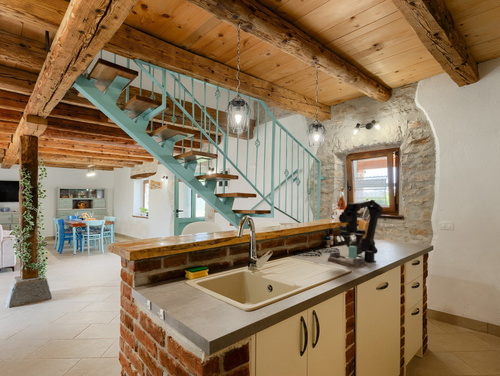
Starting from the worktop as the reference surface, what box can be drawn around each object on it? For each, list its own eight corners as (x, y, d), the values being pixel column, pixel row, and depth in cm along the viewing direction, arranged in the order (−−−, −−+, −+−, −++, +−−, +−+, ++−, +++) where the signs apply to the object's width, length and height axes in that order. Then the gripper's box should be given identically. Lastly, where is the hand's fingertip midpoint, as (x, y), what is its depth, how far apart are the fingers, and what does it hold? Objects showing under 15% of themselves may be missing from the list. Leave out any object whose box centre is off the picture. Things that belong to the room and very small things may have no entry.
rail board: (340, 258, 200) (340, 251, 200) (366, 265, 181) (366, 257, 181) (327, 260, 194) (327, 252, 194) (353, 267, 175) (353, 259, 175)
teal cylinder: (352, 260, 188) (352, 245, 188) (360, 262, 182) (360, 246, 183) (345, 261, 184) (345, 246, 184) (352, 263, 179) (352, 247, 179)
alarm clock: (362, 255, 212) (362, 233, 212) (365, 257, 207) (365, 234, 207) (347, 254, 213) (348, 233, 213) (349, 256, 208) (349, 234, 208)
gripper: (352, 220, 195) (352, 242, 195) (333, 221, 186) (333, 245, 186) (366, 221, 186) (366, 245, 186) (346, 223, 177) (346, 248, 176)
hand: (352, 246), depth 184 cm, fingers open, 9 cm apart
